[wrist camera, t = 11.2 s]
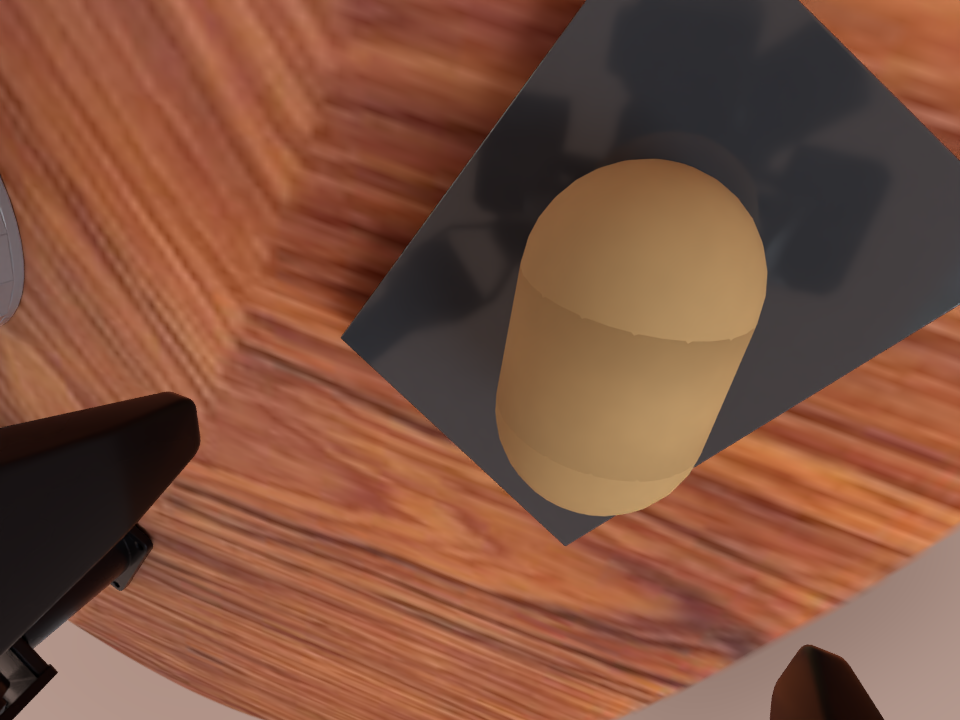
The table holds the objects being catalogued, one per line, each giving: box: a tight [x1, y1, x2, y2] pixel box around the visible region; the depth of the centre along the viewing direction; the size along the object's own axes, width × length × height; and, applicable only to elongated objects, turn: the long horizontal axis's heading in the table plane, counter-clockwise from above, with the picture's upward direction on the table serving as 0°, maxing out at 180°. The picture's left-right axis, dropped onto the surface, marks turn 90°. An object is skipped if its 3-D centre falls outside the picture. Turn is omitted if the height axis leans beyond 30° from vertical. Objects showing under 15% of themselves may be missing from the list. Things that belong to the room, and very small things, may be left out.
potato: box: [495, 159, 767, 516], centre depth 13 cm, size 8×5×5 cm, turn 172°
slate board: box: [341, 0, 960, 546], centre depth 15 cm, size 14×10×1 cm
